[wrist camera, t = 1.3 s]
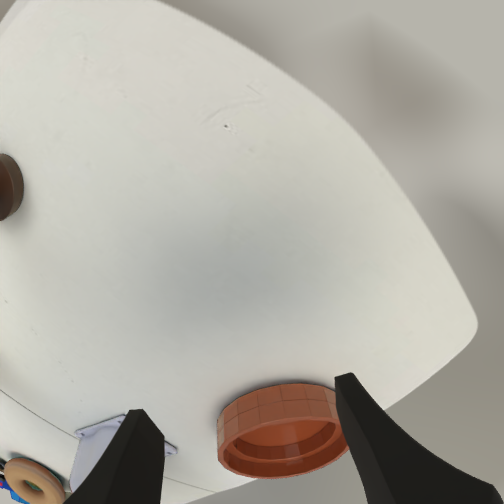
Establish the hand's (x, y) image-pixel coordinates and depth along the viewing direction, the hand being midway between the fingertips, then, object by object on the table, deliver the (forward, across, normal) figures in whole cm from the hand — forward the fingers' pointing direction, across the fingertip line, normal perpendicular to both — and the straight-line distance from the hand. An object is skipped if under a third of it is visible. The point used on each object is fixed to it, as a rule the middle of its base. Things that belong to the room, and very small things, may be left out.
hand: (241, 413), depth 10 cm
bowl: (+10, 0, +16) cm, 19 cm away
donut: (+5, +43, +30) cm, 52 cm away
